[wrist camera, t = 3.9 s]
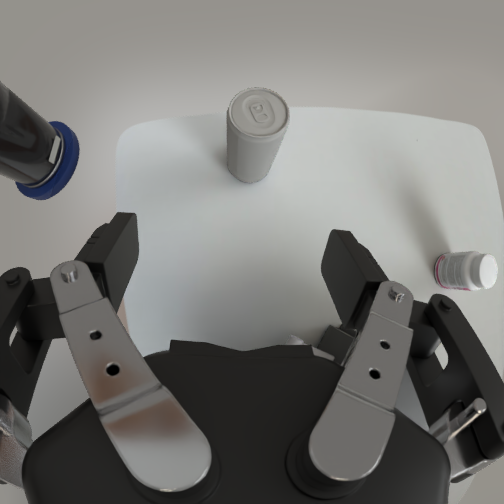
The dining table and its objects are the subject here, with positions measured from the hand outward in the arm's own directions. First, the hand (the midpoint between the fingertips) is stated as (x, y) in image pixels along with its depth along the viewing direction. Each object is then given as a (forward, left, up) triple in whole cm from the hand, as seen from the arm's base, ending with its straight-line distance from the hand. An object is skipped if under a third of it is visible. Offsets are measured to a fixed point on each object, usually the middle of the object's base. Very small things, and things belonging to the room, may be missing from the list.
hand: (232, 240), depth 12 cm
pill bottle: (+28, +6, -20) cm, 35 cm away
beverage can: (-1, +10, -20) cm, 22 cm away
